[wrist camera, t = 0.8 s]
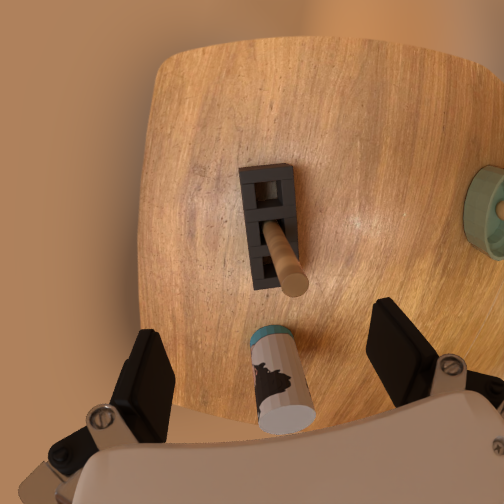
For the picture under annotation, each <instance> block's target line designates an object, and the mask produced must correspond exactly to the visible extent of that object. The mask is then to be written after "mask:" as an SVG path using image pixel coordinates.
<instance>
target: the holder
mask: <svg viewBox="0 0 504 504" xmlns="http://www.w3.org/2000/svg"><path fill="white" fill-rule="evenodd" d="M239 177H240V185H241V193H242V201H243V210H244V218H245V226H246V234H247V242H248V250H249V258H250V266H251V274H252V281H253V287H254V290H261V289H268V288H275V287H281V285H280V282H279V279H278V276H277V273H276V270H275V267H274V264H273V263H269V264H263V259H262V257H264V256H271V255H270V252H269V249H268V246H267V243H266V240H265V237H264V234H260V231H259V222H258V221H265V220H273V219H279V222H280V228H281V229H282V231H283V233H284V235H285V237H286V239H287V241H288V242H289V244H290V246H291V248H292V250H293V252H294V254H295V255H296V257H297V259H298V261H299V251H298V231H297V215H296V200H295V187H294V175H293V166H291V165H289V164H286V163H280V164H270V165H260V166H251V167H243V168H239ZM268 181H276V188H277V199H268V200H260V201H256V194H255V185H254V183H259V182H268Z"/></svg>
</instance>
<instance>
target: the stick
mask: <svg viewBox="0 0 504 504" xmlns="http://www.w3.org/2000/svg"><path fill="white" fill-rule="evenodd" d="M260 225H261V228H262V231H263V234H264V237H265V240H266V243H267V246H268V249H269V252H270V255H271V258H272V261H273V264H274V267H275V270H276V273H277V276H278V279H279V282H280V285H281V288H282V291H283V293H284V294H285V295H287V296H289V297H299V296H301V295H303V294H304V293H305V292H306V291H307V289H308V286H309V281H308V278H307V276H306V274H305V273H304V271H303V269H302V267H301V265H300V263H299V261H298V259H297V257H296V255H295V254H294V252H293V250H292V248H291V246H290V244H289V242H288V241H287V239H286V237H285V235H284V233H283V231H282V229H281V228H280V226H279V224H278V222H277V220H276V219H273V220H265V221H260Z"/></svg>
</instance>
